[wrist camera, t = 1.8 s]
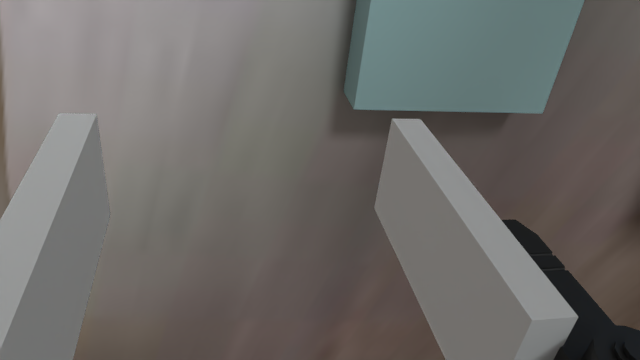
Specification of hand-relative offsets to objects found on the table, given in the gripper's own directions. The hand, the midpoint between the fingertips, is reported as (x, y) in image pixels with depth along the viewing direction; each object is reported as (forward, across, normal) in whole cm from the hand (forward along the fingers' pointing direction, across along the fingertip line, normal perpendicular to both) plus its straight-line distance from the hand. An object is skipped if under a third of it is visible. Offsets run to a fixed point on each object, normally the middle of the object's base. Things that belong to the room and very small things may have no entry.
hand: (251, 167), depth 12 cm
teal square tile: (+18, +13, 0) cm, 22 cm away
